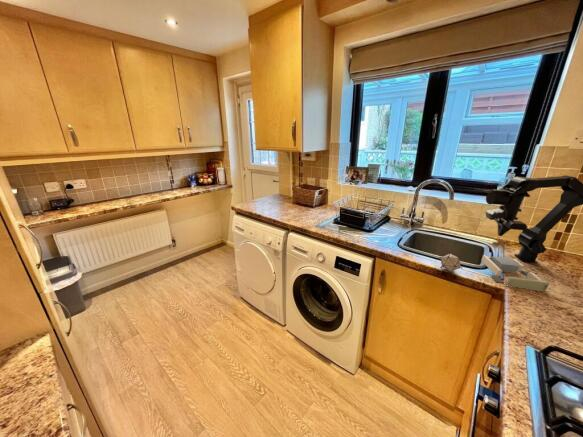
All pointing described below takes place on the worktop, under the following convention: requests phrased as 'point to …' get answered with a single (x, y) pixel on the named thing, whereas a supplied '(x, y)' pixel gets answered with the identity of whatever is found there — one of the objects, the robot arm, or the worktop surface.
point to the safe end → (527, 283)
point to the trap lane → (498, 271)
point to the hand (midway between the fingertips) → (499, 235)
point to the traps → (501, 280)
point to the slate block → (505, 264)
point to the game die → (450, 262)
